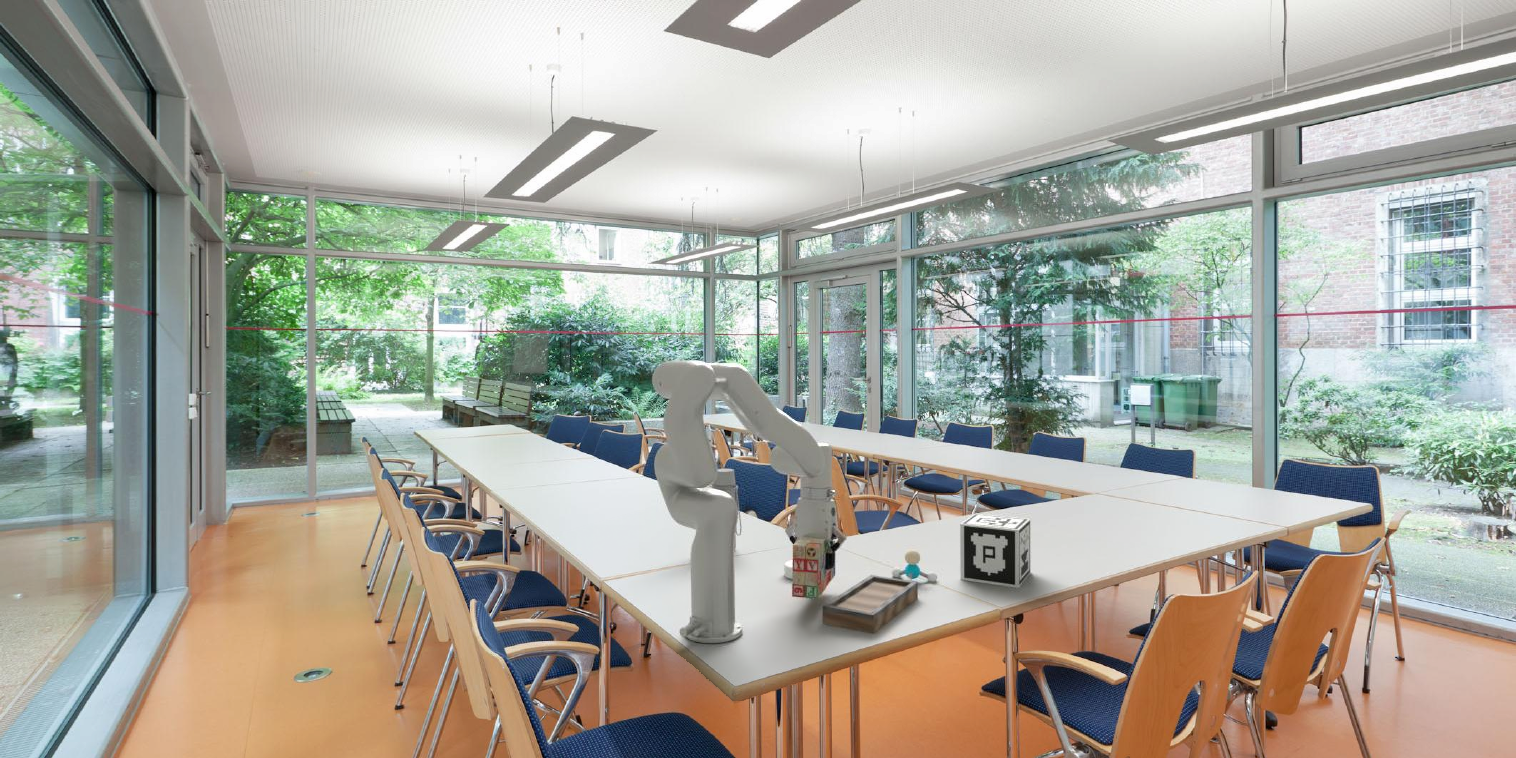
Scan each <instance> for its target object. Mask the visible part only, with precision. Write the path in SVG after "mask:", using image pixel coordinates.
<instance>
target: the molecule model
mask: <svg viewBox="0 0 1516 758" xmlns="http://www.w3.org/2000/svg"><path fill="white" fill-rule="evenodd" d="M904 560H905V562H906V563H907V565H906V566H905V569H903V570H902V569H901V568H899V567H897V566H896V567H894V568H892V569H891V575H892V577H894V578H900V577H901V576H903V575H906V577H904V579H903V580H907V581H913V580H915V579H917V578H919V576H921V577H923V578H926V580H927V581H928V582H930V583H934V582H936V581H937V579H938V575H937V574H936V573H935V572H934V571H929V572H928V573H925V572H923V571H921V569H920V567H919V566H918V564H919V562H921V561H920V560H921V555H920V552H918V550H915V549H909V550H907V551H906V552H905V554H904Z"/></svg>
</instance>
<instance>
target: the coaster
mask: <svg viewBox="0 0 1516 758" xmlns="http://www.w3.org/2000/svg"><path fill="white" fill-rule="evenodd" d="M792 562H793V559H790V560H788V561H786V562H784V565H783V566H784V570H783V571H784V573H783V575H784V577H786V578H787V579H789V580H793V570H792Z"/></svg>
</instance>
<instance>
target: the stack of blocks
mask: <svg viewBox="0 0 1516 758" xmlns="http://www.w3.org/2000/svg"><path fill="white" fill-rule="evenodd" d="M833 541H834V543H836V539H834V540H833ZM826 553H827V549H826V547H825V540H823V539H816V538H810V537H803V536H802V537H801V538H800V539H799V540H798V541H797V542H795V543H794V544H793V543H792V560H793V562H792V570H793V579H792V582H791V583H792V584H791V590H792V591H791V597H793V598H794V597H795V598H803V599H804V598H805V599H813V600H818V599H819V597H821V596H822V594H823V593H824V592H825V591H826V589H827V587H828V585H829V584H830V582H831V581H832V580H833V579H834V577H835V576H836V563H835V564H834V566H833V568H831V569H829V570H826V569H825V560H826ZM835 556H837V555H836V552H835Z"/></svg>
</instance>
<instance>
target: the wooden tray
mask: <svg viewBox="0 0 1516 758" xmlns="http://www.w3.org/2000/svg"><path fill="white" fill-rule="evenodd" d="M918 583H919V582H918V581H913V580H912V581H907V580H904V579H900V578H895V577H894V578H892V577H885V576H879V575H874V574H873V575H872V574H870V575H869V576H867V577H865V578H864V579H862V580H861V581H859V582H858V583H856V584H855V585H852V586H851V587H850V588H848V589H847V590H845V591H844V592H842V593H840V594H839V595H837V596H835V597H834V598H833V599H830V600H829V601H828V602H826V603H825V604H823V605H822V606H821V608H822V609H821V612H822V619H821V620H822V624H823V625H830V626H834V627H840V628H844V629H850V630H854V631H860V632H864V633H870V634H875V633H876V632H877V631H879V630H880V629H882V628H883V627H884V626H885V625H886V624H887V623H889V622H890V621H891V620H893V619H894V617H896V616H897V615H899V614H900V613H901V612H902V611H904V609H906V608H907V607H909V606H910V605H911V604H912V603H914V602H915V601H916V600H917V599H918V597H919V594H918V593H919V592H918V588H919V586H918V585H919V584H918Z"/></svg>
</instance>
